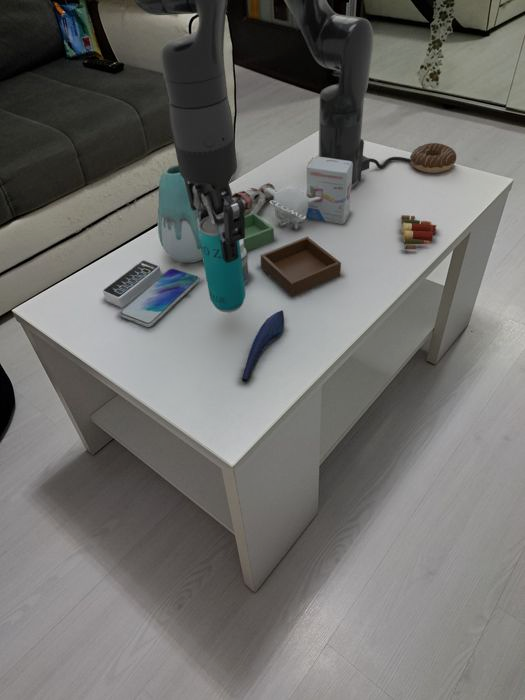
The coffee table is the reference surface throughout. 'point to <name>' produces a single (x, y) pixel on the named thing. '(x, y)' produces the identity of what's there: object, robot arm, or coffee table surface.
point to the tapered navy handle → (263, 340)
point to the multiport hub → (132, 283)
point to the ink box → (329, 189)
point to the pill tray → (257, 232)
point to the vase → (177, 218)
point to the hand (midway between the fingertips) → (220, 249)
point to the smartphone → (159, 297)
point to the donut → (433, 157)
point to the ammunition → (416, 231)
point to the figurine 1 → (254, 197)
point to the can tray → (300, 266)
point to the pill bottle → (244, 261)
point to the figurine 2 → (290, 204)
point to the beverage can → (221, 270)
